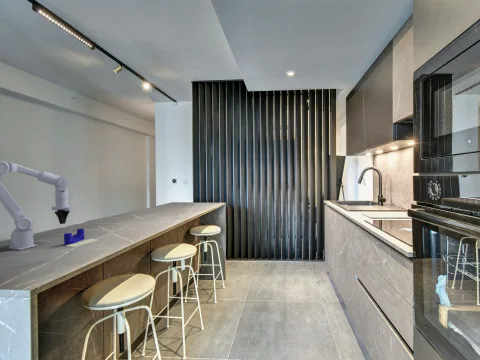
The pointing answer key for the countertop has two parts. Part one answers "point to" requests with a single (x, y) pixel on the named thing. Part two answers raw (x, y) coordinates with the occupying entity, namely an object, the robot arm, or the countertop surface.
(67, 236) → the cable clip
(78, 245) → the mat
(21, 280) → the countertop surface
